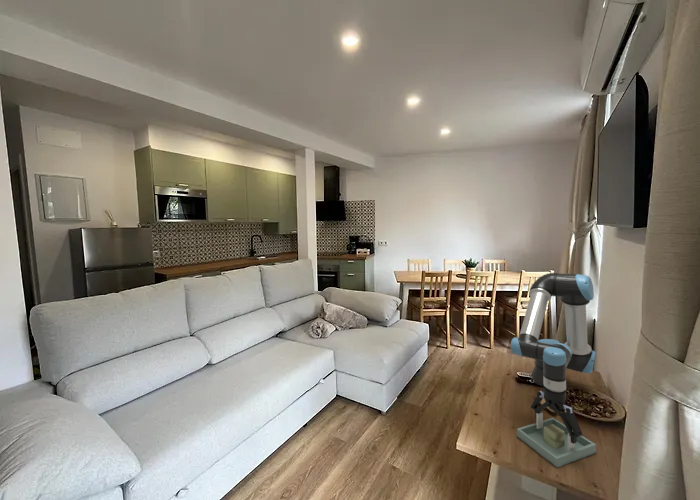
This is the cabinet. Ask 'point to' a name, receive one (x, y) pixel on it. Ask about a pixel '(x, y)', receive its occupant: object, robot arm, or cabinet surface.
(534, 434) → the bin
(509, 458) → the cabinet surface
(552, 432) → the olive block
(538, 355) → the robot arm
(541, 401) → the pottery oil lamp
